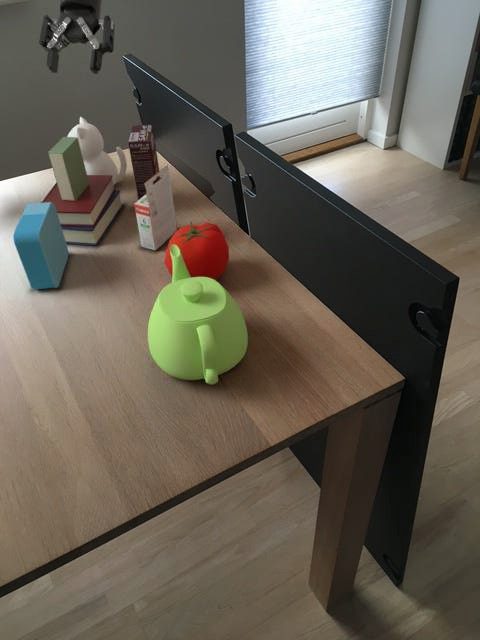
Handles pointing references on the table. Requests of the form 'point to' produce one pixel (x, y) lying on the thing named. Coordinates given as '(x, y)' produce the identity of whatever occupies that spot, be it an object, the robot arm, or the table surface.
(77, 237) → the book stack
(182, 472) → the table surface
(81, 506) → the table surface
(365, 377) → the table surface
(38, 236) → the blue rounded block
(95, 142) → the cat figurine
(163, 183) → the ink box
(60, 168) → the green rectangular block
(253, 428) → the table surface
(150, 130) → the supplement box
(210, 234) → the tomato
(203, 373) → the teapot
